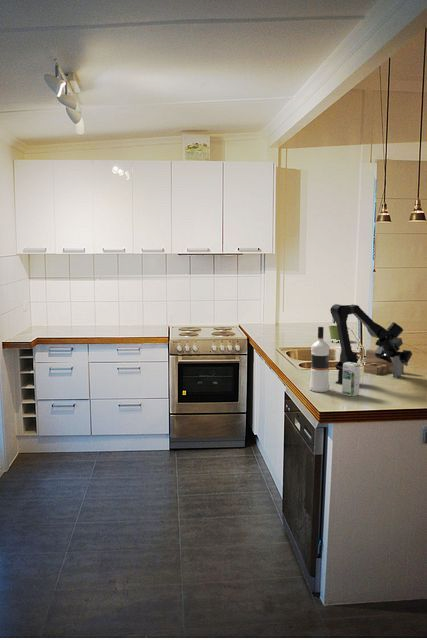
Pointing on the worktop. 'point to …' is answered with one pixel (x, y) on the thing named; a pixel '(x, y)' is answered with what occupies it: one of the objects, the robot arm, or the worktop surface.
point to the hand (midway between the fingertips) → (399, 363)
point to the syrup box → (350, 379)
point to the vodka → (319, 364)
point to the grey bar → (397, 367)
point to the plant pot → (334, 332)
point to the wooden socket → (377, 364)
